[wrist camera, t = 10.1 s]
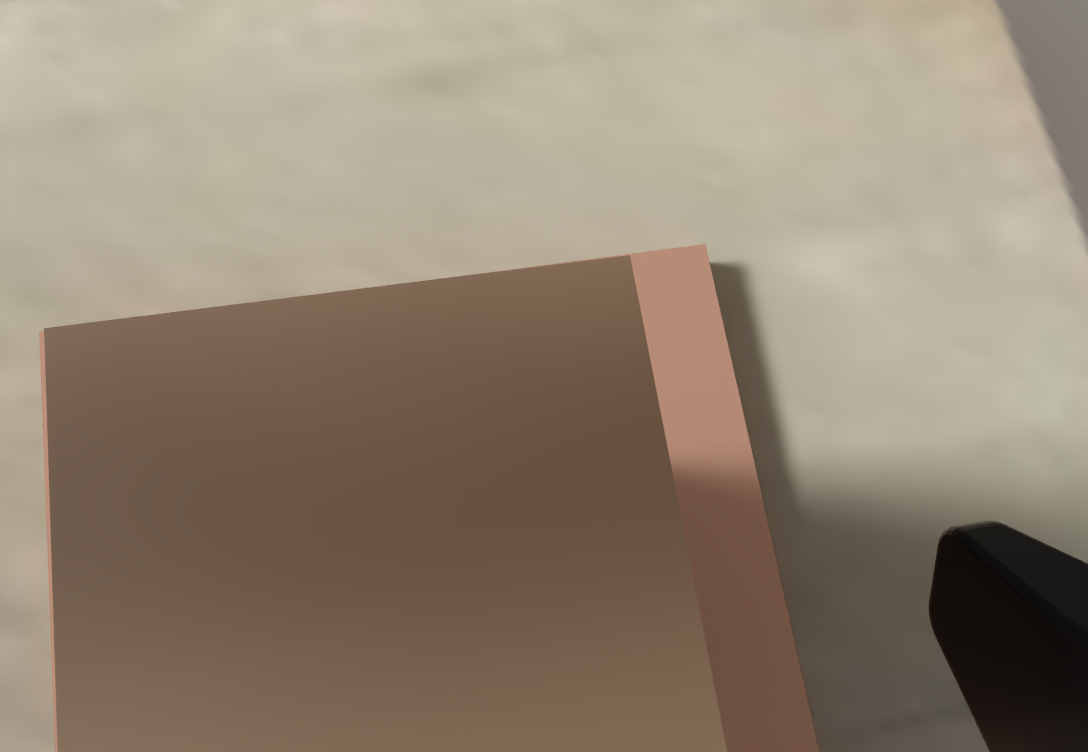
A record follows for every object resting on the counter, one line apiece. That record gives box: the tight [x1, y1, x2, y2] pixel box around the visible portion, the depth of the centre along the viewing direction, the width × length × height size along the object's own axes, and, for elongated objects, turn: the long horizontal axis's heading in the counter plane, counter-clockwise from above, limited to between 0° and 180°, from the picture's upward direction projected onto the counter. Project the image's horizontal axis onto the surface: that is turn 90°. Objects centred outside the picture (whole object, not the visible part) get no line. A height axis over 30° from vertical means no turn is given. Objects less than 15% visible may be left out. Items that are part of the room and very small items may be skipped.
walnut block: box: [44, 255, 727, 752], centre depth 12 cm, size 5×5×9 cm
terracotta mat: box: [39, 244, 819, 752], centre depth 17 cm, size 12×12×1 cm
